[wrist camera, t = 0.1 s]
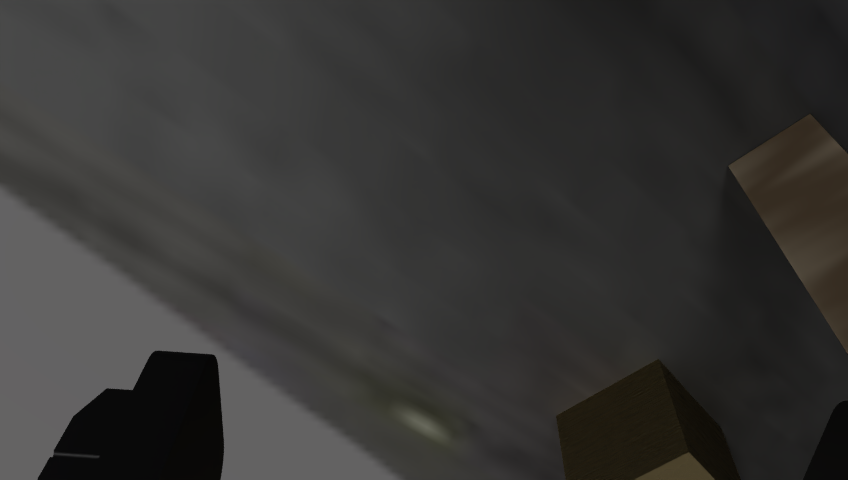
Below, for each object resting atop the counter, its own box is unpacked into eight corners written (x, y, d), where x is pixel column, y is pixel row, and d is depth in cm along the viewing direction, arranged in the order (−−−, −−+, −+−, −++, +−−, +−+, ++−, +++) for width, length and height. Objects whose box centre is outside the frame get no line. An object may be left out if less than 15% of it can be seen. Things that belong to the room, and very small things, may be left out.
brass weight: (556, 414, 34) (570, 511, 30) (657, 357, 32) (688, 452, 28) (621, 477, 36) (643, 576, 32) (720, 427, 34) (758, 525, 30)
